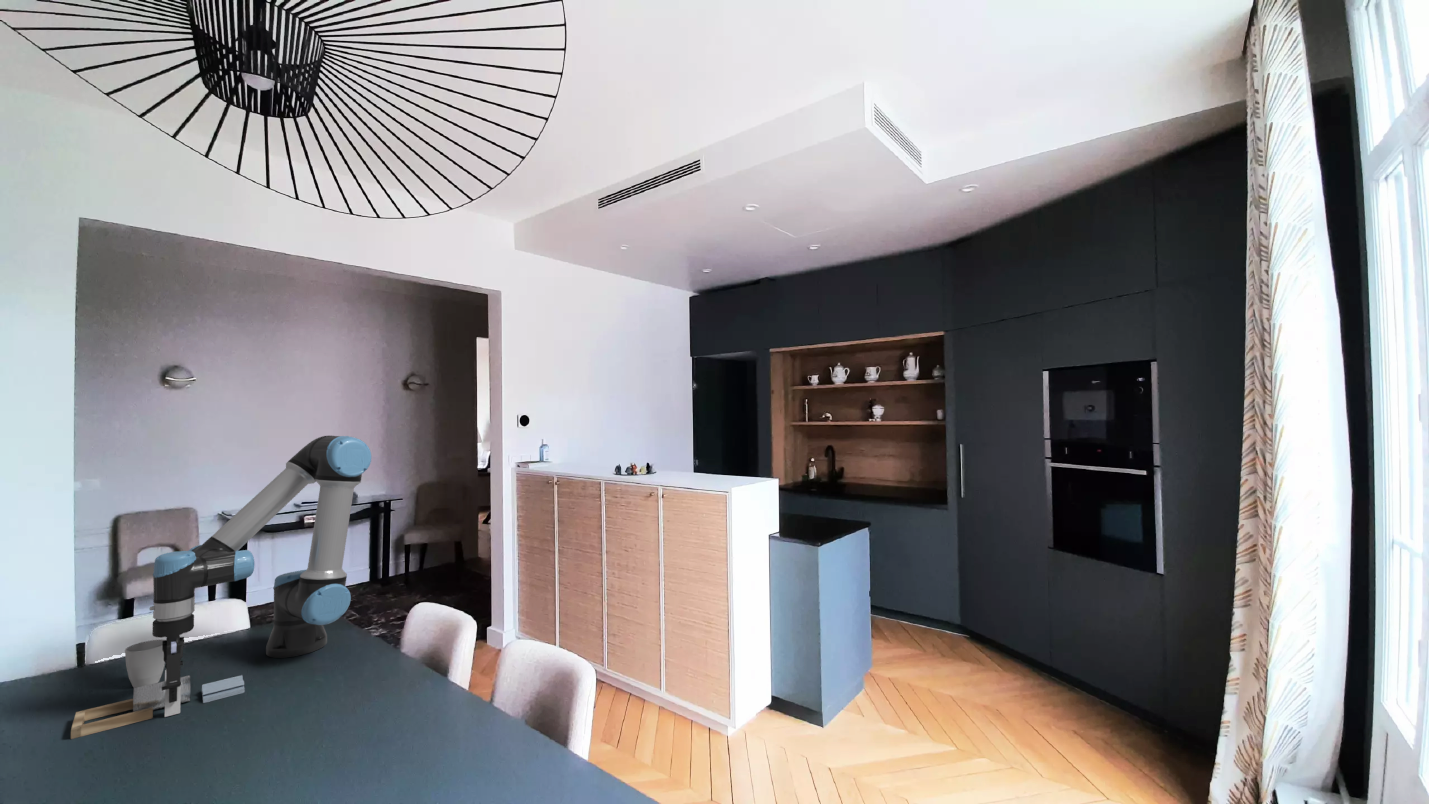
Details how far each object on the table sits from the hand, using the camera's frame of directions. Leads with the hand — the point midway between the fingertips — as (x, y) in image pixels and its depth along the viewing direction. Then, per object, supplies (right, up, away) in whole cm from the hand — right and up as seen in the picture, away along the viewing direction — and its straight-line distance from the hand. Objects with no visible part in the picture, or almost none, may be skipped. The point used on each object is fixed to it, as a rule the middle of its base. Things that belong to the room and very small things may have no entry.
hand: (172, 704), depth 144 cm
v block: (+7, 0, +7) cm, 10 cm away
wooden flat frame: (-7, 0, -7) cm, 10 cm away
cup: (-17, 0, +11) cm, 21 cm away
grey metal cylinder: (-1, 0, -1) cm, 2 cm away
